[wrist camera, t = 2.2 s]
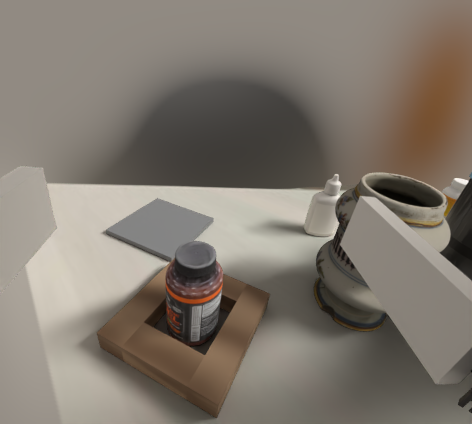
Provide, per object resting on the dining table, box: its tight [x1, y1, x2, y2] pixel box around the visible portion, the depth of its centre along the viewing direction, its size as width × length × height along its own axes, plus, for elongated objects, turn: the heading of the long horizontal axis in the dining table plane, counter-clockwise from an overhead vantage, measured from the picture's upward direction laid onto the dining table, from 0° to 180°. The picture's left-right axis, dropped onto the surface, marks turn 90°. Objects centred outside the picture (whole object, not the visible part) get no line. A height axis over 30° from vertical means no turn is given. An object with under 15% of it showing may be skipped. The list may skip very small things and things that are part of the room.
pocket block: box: [97, 258, 270, 418], centre depth 31 cm, size 14×14×2 cm
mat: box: [106, 198, 214, 262], centre depth 47 cm, size 13×13×1 cm
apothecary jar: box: [314, 173, 451, 331], centre depth 33 cm, size 12×12×18 cm
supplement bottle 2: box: [442, 178, 468, 218], centre depth 59 cm, size 5×5×10 cm
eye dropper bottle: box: [304, 174, 341, 236], centre depth 49 cm, size 4×6×12 cm
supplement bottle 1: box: [165, 241, 223, 346], centre depth 29 cm, size 6×6×11 cm
